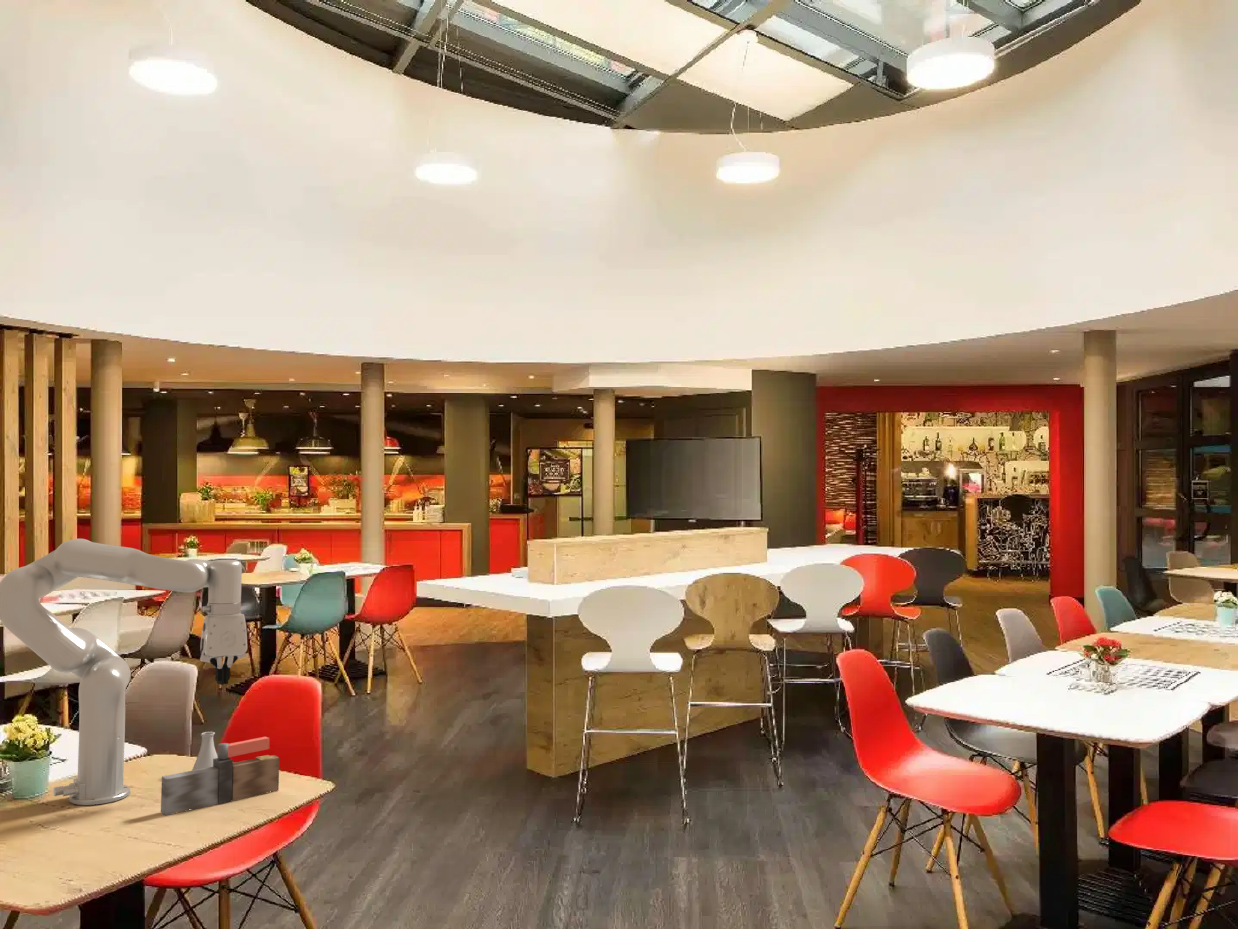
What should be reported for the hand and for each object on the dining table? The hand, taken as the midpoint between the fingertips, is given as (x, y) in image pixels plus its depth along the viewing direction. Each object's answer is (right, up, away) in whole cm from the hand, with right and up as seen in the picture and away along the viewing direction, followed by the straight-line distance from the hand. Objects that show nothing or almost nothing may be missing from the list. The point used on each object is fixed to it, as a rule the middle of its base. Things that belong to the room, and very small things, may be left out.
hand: (222, 683), depth 227 cm
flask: (-9, -26, +10) cm, 29 cm away
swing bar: (+9, -15, -8) cm, 19 cm away
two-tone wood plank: (+5, -25, -12) cm, 28 cm away
